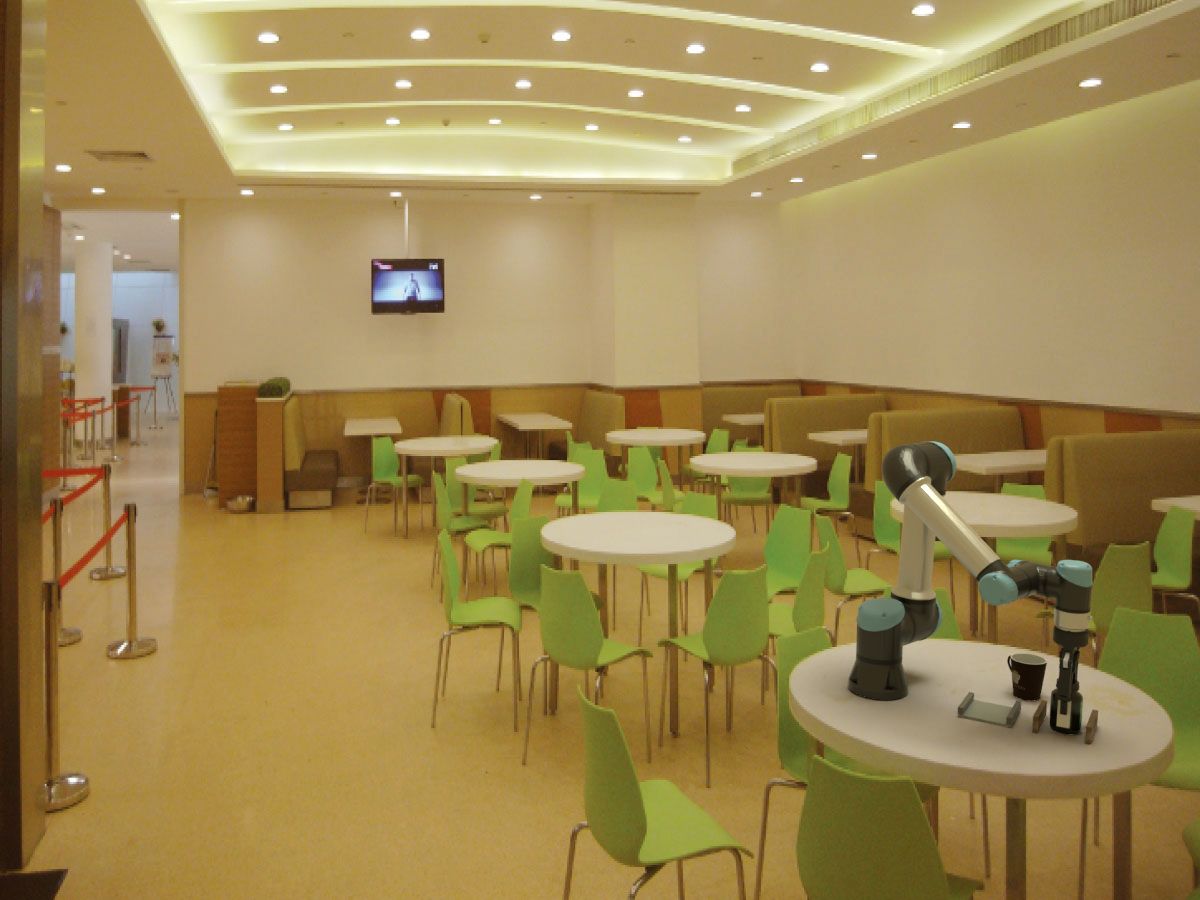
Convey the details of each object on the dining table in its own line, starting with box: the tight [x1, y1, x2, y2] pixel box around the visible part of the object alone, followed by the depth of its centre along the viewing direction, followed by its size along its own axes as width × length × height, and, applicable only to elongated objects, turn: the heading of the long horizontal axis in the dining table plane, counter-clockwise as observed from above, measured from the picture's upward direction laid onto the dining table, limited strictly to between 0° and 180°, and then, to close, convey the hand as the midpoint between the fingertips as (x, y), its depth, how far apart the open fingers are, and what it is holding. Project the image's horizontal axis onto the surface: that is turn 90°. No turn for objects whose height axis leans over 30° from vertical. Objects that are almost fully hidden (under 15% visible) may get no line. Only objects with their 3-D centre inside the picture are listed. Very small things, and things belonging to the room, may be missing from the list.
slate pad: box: [957, 691, 1022, 729], centre depth 241 cm, size 12×12×2 cm
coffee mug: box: [1006, 652, 1048, 702], centre depth 254 cm, size 12×9×10 cm
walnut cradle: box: [1031, 699, 1099, 745], centre depth 232 cm, size 12×12×4 cm
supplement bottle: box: [1048, 677, 1084, 736], centre depth 231 cm, size 7×7×12 cm
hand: (1065, 721), depth 232 cm, fingers closed on supplement bottle, 7 cm apart
